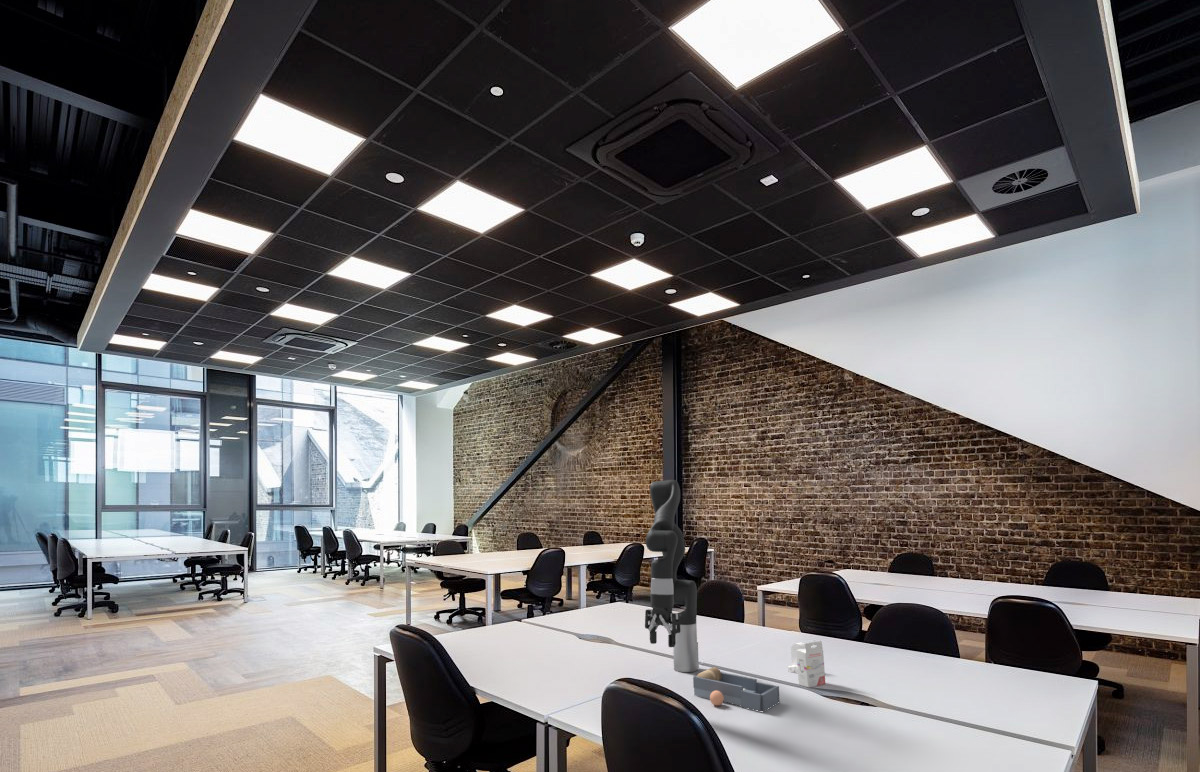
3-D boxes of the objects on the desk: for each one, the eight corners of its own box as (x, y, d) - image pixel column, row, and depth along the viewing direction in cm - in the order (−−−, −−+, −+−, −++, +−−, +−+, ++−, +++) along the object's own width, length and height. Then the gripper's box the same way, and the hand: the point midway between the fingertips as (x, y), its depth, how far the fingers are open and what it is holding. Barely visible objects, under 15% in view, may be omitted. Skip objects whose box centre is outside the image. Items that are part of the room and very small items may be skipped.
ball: (714, 702, 206) (714, 687, 206) (726, 705, 203) (726, 690, 204) (707, 705, 202) (707, 691, 203) (719, 708, 200) (719, 693, 200)
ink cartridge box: (815, 680, 228) (812, 638, 230) (825, 684, 224) (823, 640, 226) (797, 684, 224) (795, 640, 226) (808, 688, 220) (805, 643, 222)
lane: (711, 687, 221) (710, 669, 222) (779, 702, 205) (778, 683, 206) (692, 696, 212) (692, 677, 213) (763, 712, 196) (762, 692, 197)
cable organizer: (813, 669, 242) (812, 642, 244) (799, 674, 235) (798, 646, 237) (801, 666, 246) (799, 639, 247) (787, 671, 239) (785, 644, 241)
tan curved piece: (709, 681, 220) (709, 666, 221) (722, 684, 217) (721, 668, 217) (696, 687, 213) (696, 671, 214) (709, 690, 210) (708, 674, 211)
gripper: (685, 593, 204) (686, 647, 200) (655, 590, 215) (655, 641, 211) (668, 594, 199) (669, 649, 196) (639, 591, 210) (639, 643, 206)
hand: (662, 645), depth 203 cm, fingers open, 8 cm apart
